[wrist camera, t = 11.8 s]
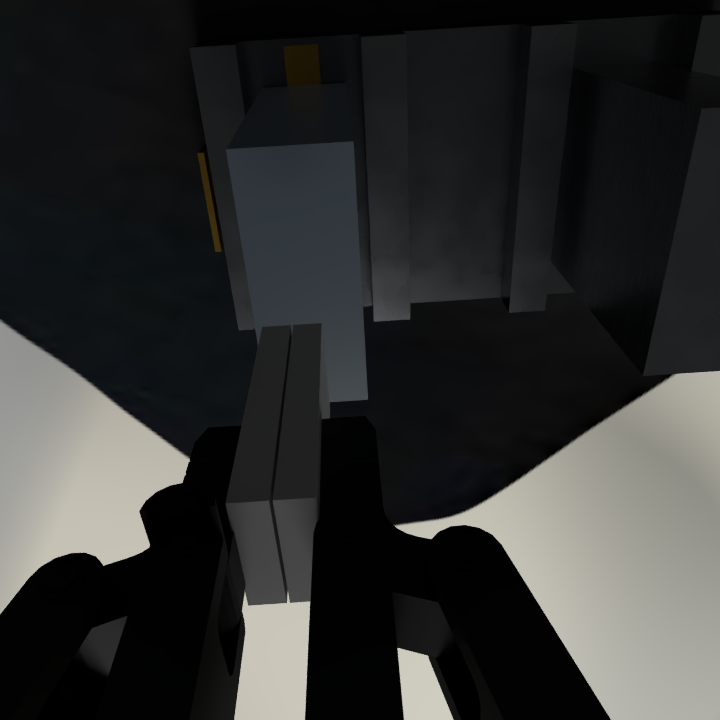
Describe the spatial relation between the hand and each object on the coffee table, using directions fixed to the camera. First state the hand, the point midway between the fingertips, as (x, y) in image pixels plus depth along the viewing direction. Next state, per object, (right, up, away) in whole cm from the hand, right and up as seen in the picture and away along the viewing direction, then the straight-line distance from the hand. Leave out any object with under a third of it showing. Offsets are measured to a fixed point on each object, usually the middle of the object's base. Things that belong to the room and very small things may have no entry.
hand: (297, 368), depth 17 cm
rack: (+7, +11, +17) cm, 21 cm away
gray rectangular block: (-1, +9, +15) cm, 18 cm away
